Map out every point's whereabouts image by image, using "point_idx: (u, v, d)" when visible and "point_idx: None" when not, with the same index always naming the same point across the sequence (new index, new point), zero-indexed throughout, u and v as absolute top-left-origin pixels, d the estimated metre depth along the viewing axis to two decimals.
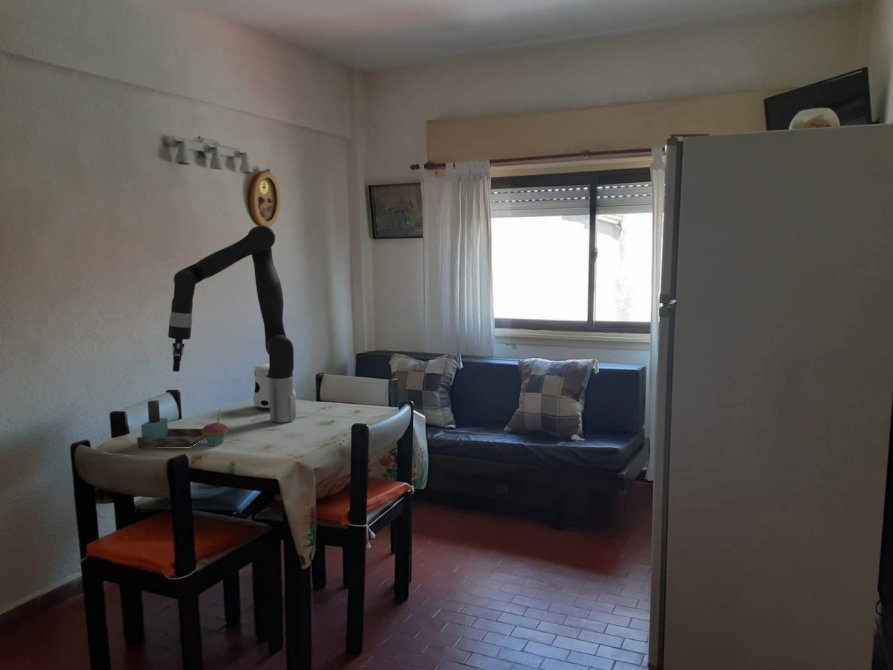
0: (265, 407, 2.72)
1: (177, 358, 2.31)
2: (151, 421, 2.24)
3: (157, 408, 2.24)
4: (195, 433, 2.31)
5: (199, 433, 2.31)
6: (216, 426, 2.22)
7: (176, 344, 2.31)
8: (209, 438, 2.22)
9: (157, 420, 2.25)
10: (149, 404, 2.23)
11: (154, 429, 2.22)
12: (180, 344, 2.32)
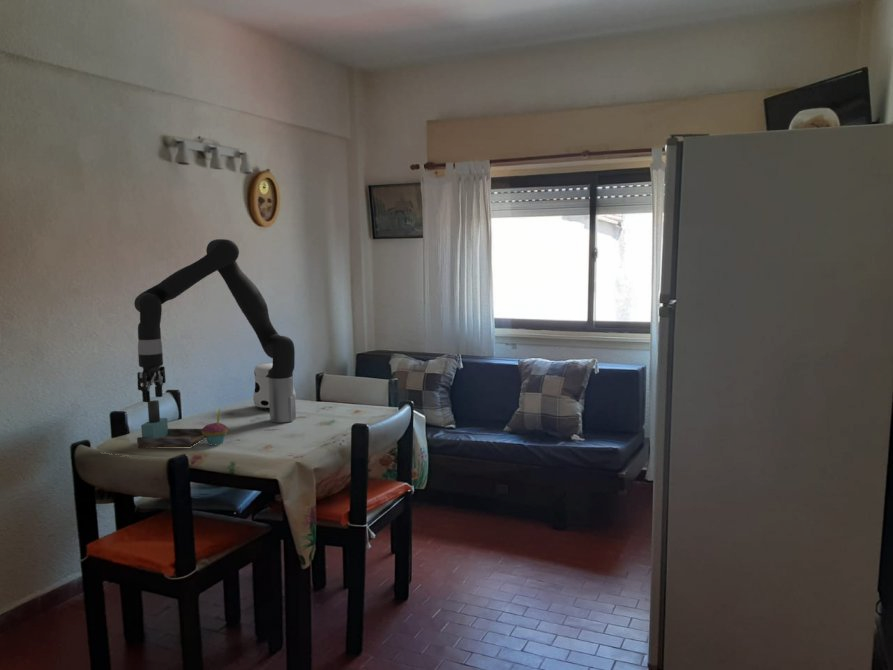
0: (265, 407, 2.72)
1: (141, 388, 2.17)
2: (151, 421, 2.24)
3: (157, 408, 2.24)
4: (195, 433, 2.31)
5: (199, 433, 2.31)
6: (216, 426, 2.22)
7: (139, 374, 2.17)
8: (209, 438, 2.22)
9: (157, 420, 2.25)
10: (149, 404, 2.23)
11: (154, 429, 2.22)
12: (142, 373, 2.17)
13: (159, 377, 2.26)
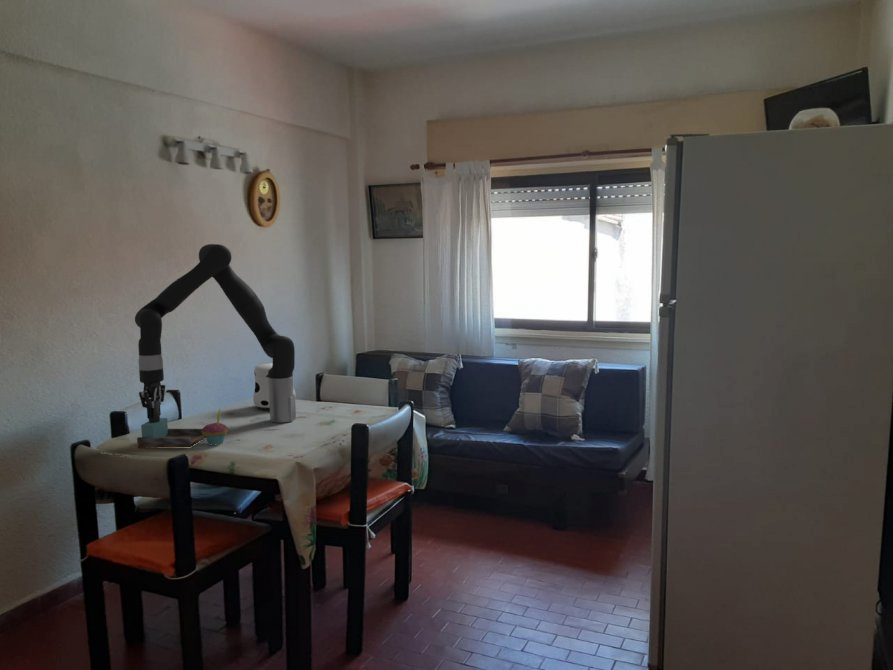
0: (265, 407, 2.72)
1: (146, 406, 2.20)
2: (151, 421, 2.24)
3: (157, 408, 2.24)
4: (195, 433, 2.31)
5: (199, 433, 2.31)
6: (216, 426, 2.22)
7: (140, 394, 2.18)
8: (209, 438, 2.22)
9: (157, 420, 2.25)
10: None
11: (154, 429, 2.22)
12: (144, 393, 2.18)
13: (159, 393, 2.26)
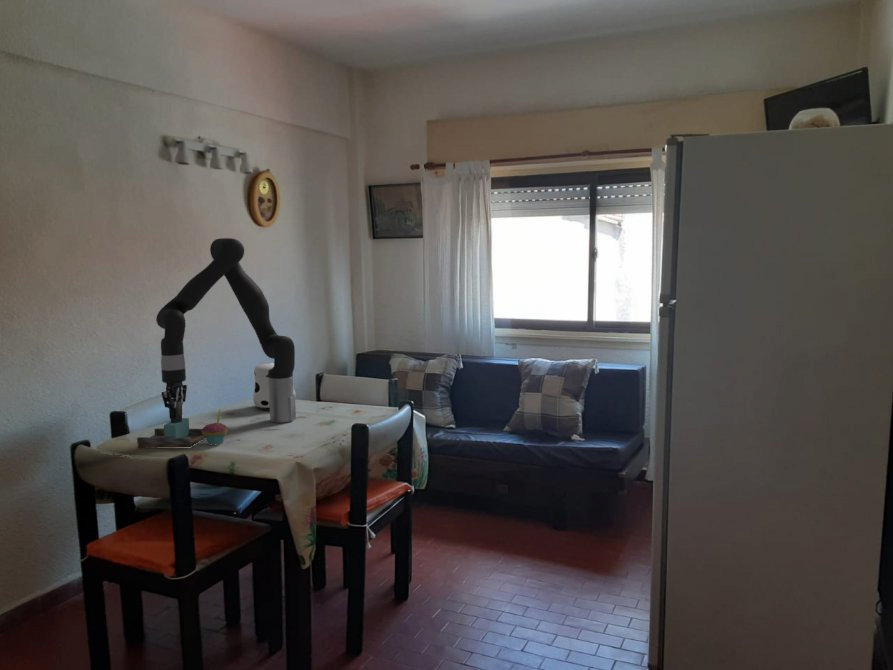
0: (265, 407, 2.72)
1: (168, 406, 2.20)
2: (173, 421, 2.23)
3: (179, 408, 2.24)
4: (195, 433, 2.31)
5: (199, 433, 2.31)
6: (216, 426, 2.22)
7: (163, 394, 2.17)
8: (209, 438, 2.22)
9: (179, 420, 2.24)
10: None
11: (177, 429, 2.21)
12: (166, 393, 2.17)
13: (181, 393, 2.25)
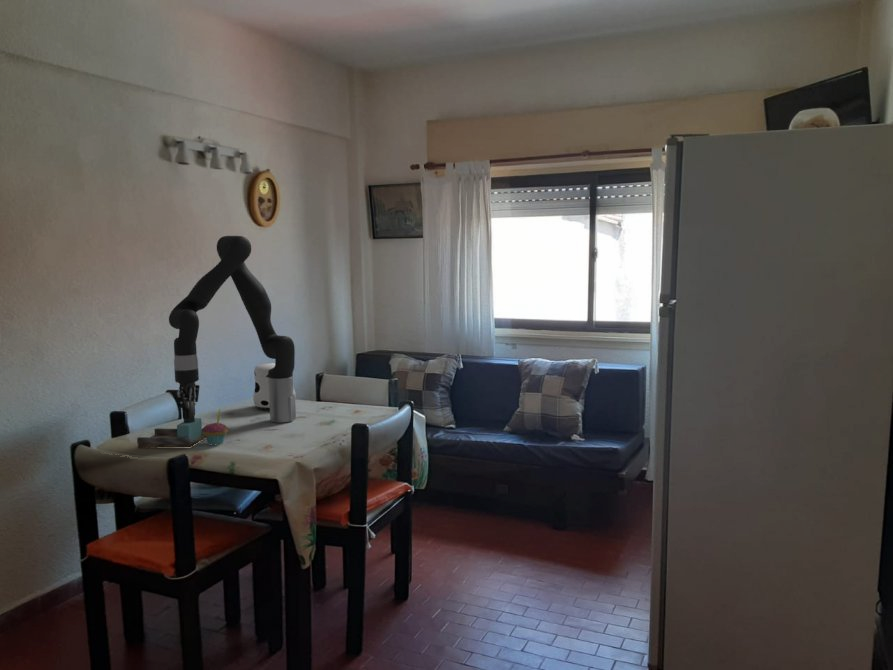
0: (265, 407, 2.72)
1: (182, 406, 2.19)
2: (186, 421, 2.23)
3: (192, 408, 2.24)
4: None
5: None
6: (216, 426, 2.22)
7: (176, 394, 2.17)
8: (209, 438, 2.22)
9: (192, 420, 2.24)
10: None
11: (190, 429, 2.21)
12: (180, 393, 2.17)
13: (194, 393, 2.25)
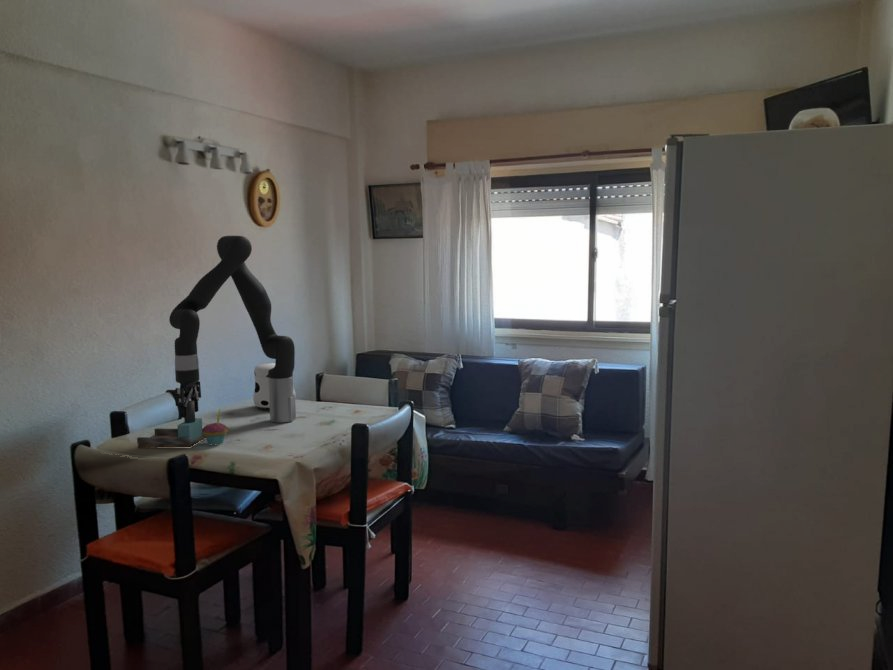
0: (265, 407, 2.72)
1: (179, 404, 2.17)
2: (187, 421, 2.23)
3: (193, 408, 2.24)
4: None
5: None
6: (216, 426, 2.22)
7: (176, 389, 2.17)
8: (209, 438, 2.22)
9: (193, 420, 2.24)
10: None
11: (190, 429, 2.21)
12: (180, 389, 2.17)
13: (195, 392, 2.26)
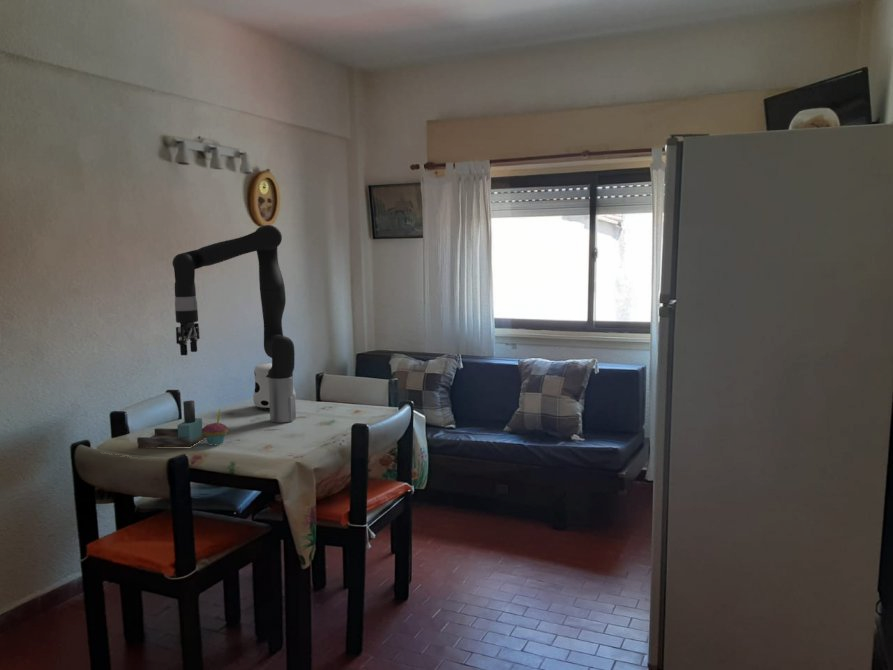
0: (265, 407, 2.72)
1: (180, 342, 2.32)
2: (187, 421, 2.23)
3: (193, 408, 2.24)
4: None
5: None
6: (216, 426, 2.22)
7: (177, 328, 2.31)
8: (209, 438, 2.22)
9: (193, 420, 2.24)
10: (185, 404, 2.23)
11: (190, 429, 2.21)
12: (180, 327, 2.32)
13: (194, 333, 2.40)
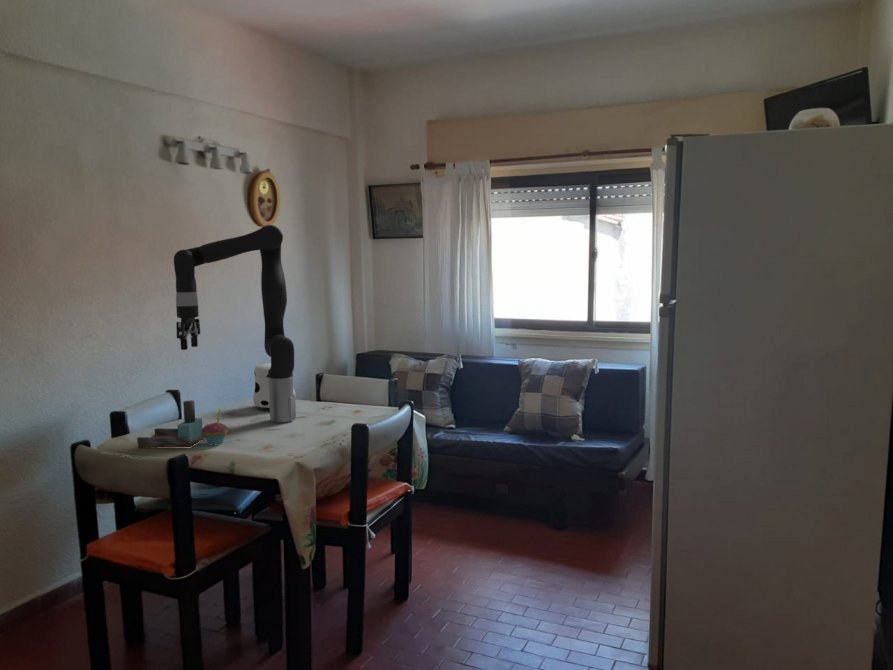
0: (265, 407, 2.72)
1: (180, 336, 2.36)
2: (187, 421, 2.23)
3: (193, 408, 2.24)
4: None
5: None
6: (216, 426, 2.22)
7: (177, 323, 2.36)
8: (209, 438, 2.22)
9: (193, 420, 2.24)
10: (185, 404, 2.23)
11: (190, 429, 2.21)
12: (181, 322, 2.36)
13: (195, 328, 2.45)
